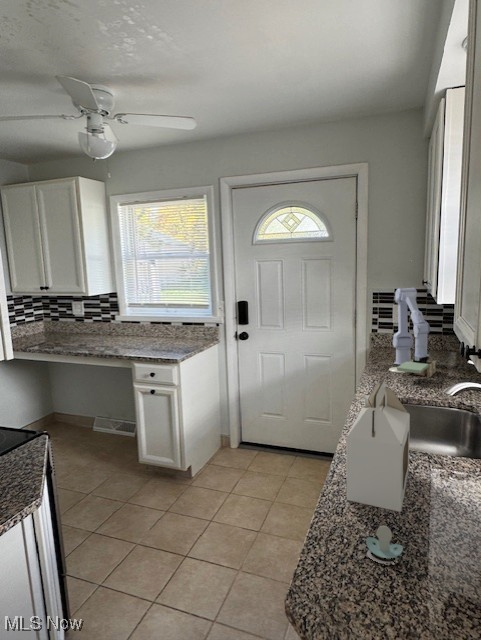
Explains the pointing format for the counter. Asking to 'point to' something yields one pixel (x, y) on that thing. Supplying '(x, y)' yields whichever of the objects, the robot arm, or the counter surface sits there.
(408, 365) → the lid
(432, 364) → the cubby
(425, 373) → the block
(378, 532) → the pacifier
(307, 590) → the counter surface
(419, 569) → the counter surface
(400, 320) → the robot arm
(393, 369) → the plate
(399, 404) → the gable box
